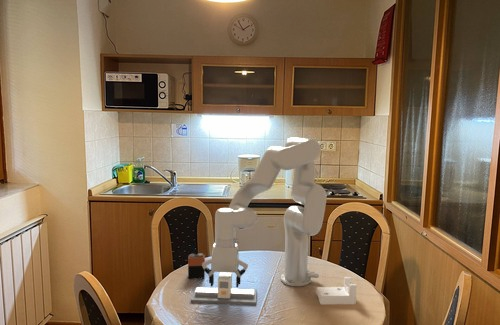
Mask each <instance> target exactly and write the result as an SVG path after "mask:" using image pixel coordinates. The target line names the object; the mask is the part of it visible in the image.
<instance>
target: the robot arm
mask: <svg viewBox="0 0 500 325" xmlns="http://www.w3.org/2000/svg"><path fill="white" fill-rule="evenodd" d="M321 151H322V150H321V144H320V142H318V141H317V140H315V139H314V138H309V137H308V138H307V137H301V136H299V137H298V136H294V137H292V136H291V137H290V138H287V140H286V141H285V144H284V146H278V145H274V146H273V145H271V146H270V147H268V148H267V149H266V150H265V151H264V154H263V156H262V158H261V159H260V161H259V164H258V165H257V167H256V169H255V171H254V172H253V174H252V176H251V178H249V180H247V181H246V182H245V183H244V184H243V185H242V186H241V187H240V188H239V189H238V190H237V192H235V194H234V196H233V198H232V200H231V201H230V203H229V206H228V207H220V208H218V209H217V210H216V211H215V213H214V214H215V215H214V216H215V217H214V221H215V223H214V243H213V245H212V250H211V258H210V259H208V260H205V262H203V263H202V267H203V268H204V271H205V274H207V276H208V283H209V284H210V288H213V286H214V281H215V280H214V279H215V274H214V273H220V272H232V273H234V274H235V276H236V277H235V278H236V281H235V286H236V289H239V285H241V277H242V276H243V275H244V274H245V273H246V271H247V269H248V267H249V264H248V263H246V262H244V261H243V260H240V258H239V257H240V256H239V247H238V246H239V245H238V244H239V243H240V239H239V238H237V237H236V229H251V228H253V227H255V225H256V224H257V222H258V214H257V212H256V211H255V210H254V209H252V208H250V207H248V206H249V204H250V202H251V201H253V199H254V198H255V197H256V196H258V195H260V194H262V193H265V192H267V191H269V190H271V188H272V187H273V185H274V184H275V181H276V179H277V177H278V175H279V173H280V172H281V170H283V171H290V170H293V169H294V172H293V179H292V180H293V181H292V184H291V193H290V196H291V199H292V200H293V201H294V202H295V203H298V204H300V205H303V206H304V207H303V206H299V205H291V206H289V207H288V208H286V210H285V212H284V215H283V225H284V232H285V234H284V235H285V239H284V240H285V241H284V242H285V244H284V246H285V247H284V270H283V271H284V272H283V273H282V274H281V275H280V282H282V283H283V284H285V285H287V286H292V287H304V286H308V285H309V284H310V283H311V282H312V281H311V279H312V278H313V279H319V273H318V272H316V271H314V270H313V271H310V270H309V268H308V260H309V258H308V257H309V236H316V235H317V234H319V232H320V231H321V229H322V226H323V223H324V222H323V221H324V217H325V212H326V205H327V193H326V192H327V191H326V190H325V188H324V187H323V186H322V185H320V184H318V183H315V180H316V170H317V169H316V163H315V160H316V159H317V158H318V157H319V156H320V154H321ZM209 265H210V267H211V268H209V267H208V266H209ZM239 266H241V267H242V268H241V269H239Z"/></svg>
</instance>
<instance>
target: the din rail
mask: <svg viewBox="0 0 500 325" xmlns="http://www.w3.org/2000/svg"><path fill="white" fill-rule="evenodd" d="M195 288H196V287H195ZM249 289H250V288H248V289H247V288H246V289H245V288H232V289H231V293H230V297H245V298H254V290H255V289H254V290H249ZM195 296H218V287H201V288H196V291H195Z"/></svg>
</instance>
